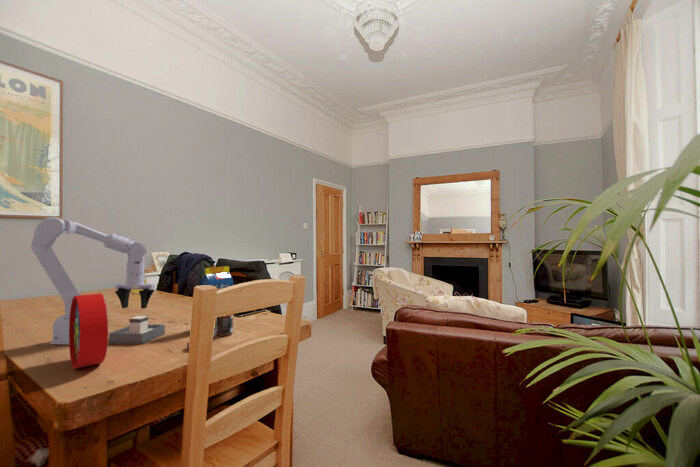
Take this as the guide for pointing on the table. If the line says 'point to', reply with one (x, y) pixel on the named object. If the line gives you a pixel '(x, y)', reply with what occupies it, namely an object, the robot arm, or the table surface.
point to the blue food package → (217, 278)
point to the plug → (138, 324)
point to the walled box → (136, 335)
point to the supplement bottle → (224, 325)
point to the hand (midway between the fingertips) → (134, 308)
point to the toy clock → (88, 330)
